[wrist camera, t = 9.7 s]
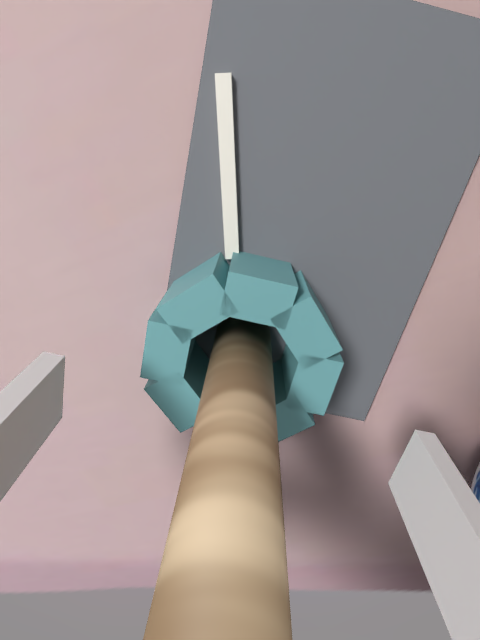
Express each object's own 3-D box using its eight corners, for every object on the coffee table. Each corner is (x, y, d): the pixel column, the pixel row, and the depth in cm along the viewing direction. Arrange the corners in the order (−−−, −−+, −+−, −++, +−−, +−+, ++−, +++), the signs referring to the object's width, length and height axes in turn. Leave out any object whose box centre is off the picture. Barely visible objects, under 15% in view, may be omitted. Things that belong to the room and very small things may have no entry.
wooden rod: (222, 303, 21) (107, 780, 5) (276, 315, 21) (334, 817, 5) (212, 351, 22) (91, 863, 6) (263, 362, 22) (276, 891, 6)
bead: (175, 236, 20) (157, 255, 16) (346, 275, 20) (366, 302, 16) (152, 383, 23) (133, 427, 19) (298, 414, 24) (306, 462, 20)
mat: (222, -47, 15) (221, -52, 15) (525, 35, 16) (532, 33, 16) (155, 373, 23) (153, 376, 23) (362, 417, 24) (363, 420, 24)
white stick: (215, 75, 17) (214, 73, 16) (231, 74, 17) (231, 72, 16) (226, 257, 20) (225, 259, 19) (239, 256, 20) (239, 258, 19)
